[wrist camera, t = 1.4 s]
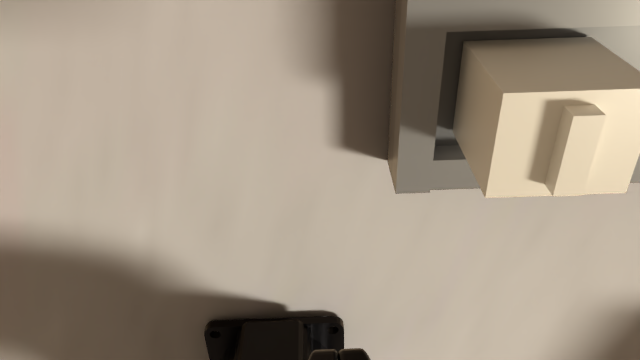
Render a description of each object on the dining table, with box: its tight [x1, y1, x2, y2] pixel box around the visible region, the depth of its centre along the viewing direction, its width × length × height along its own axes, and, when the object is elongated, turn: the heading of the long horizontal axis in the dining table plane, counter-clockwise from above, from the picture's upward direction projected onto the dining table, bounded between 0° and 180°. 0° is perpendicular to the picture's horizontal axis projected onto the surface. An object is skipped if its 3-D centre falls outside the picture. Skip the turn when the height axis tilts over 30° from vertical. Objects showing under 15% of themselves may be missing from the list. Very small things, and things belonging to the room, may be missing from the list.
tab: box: [452, 37, 640, 198], centre depth 16 cm, size 3×4×5 cm
